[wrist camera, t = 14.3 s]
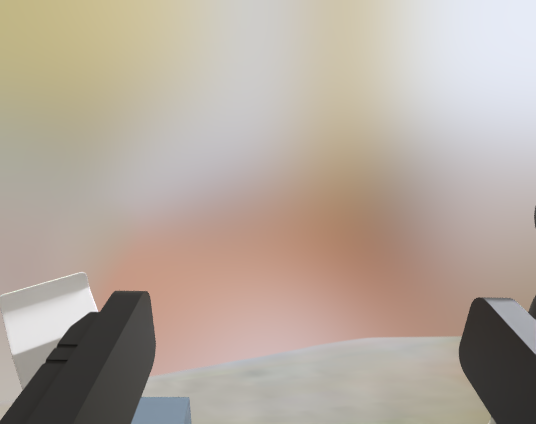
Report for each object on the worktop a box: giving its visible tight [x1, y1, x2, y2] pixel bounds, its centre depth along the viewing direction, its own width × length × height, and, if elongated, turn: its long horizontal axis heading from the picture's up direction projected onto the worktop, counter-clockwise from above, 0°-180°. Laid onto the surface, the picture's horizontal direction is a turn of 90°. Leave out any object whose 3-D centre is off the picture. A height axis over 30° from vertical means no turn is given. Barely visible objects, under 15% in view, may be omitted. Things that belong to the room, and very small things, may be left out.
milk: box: [0, 272, 98, 389], centre depth 32 cm, size 6×6×22 cm
